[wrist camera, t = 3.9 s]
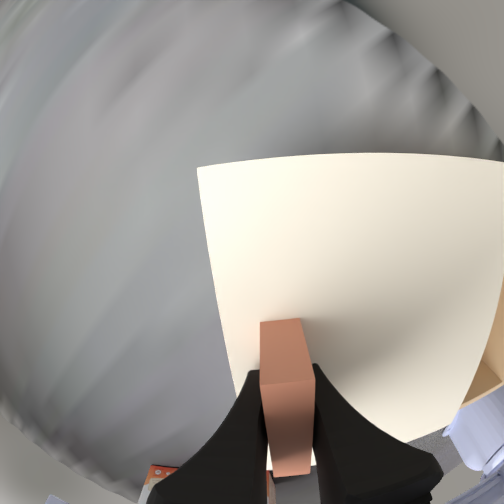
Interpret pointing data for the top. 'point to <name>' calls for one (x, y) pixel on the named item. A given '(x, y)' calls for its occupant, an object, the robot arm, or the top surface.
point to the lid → (355, 285)
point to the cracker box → (161, 472)
